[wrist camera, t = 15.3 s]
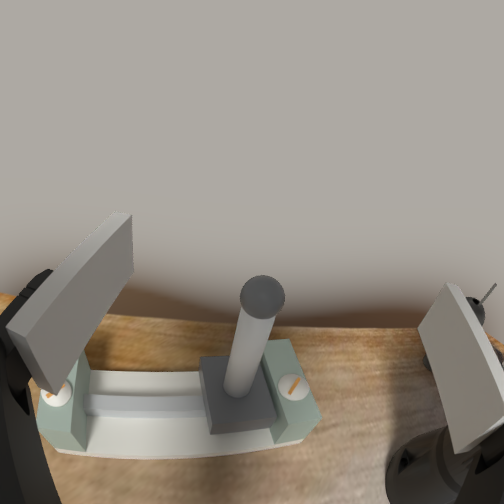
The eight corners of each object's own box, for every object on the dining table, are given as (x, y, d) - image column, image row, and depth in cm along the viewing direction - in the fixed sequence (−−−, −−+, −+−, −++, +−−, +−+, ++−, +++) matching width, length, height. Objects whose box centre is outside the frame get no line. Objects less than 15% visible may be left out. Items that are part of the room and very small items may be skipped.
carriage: (252, 367, 38) (289, 249, 28) (270, 427, 31) (329, 318, 21) (198, 370, 36) (214, 246, 26) (209, 434, 29) (234, 324, 19)
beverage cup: (423, 344, 52) (475, 262, 42) (449, 362, 48) (506, 283, 38) (412, 364, 47) (472, 276, 37) (441, 384, 43) (506, 300, 33)
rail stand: (275, 371, 43) (290, 335, 38) (300, 442, 33) (324, 415, 29) (66, 373, 34) (50, 335, 29) (58, 452, 24) (33, 424, 20)
